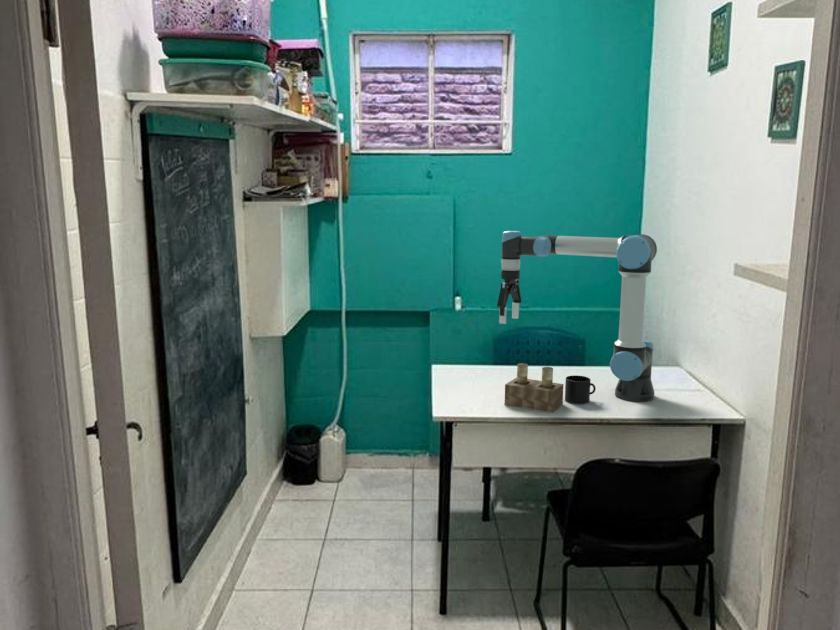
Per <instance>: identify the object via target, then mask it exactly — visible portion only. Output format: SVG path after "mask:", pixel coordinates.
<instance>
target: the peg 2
mask: <svg viewBox="0 0 840 630" xmlns="http://www.w3.org/2000/svg"><path fill="white" fill-rule="evenodd" d="M553 376H554V368H553V367H551V366H543V367H541V381H542V388H549V389H552V383H554V382H553V381H554V380H553V378H554V377H553Z"/></svg>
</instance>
